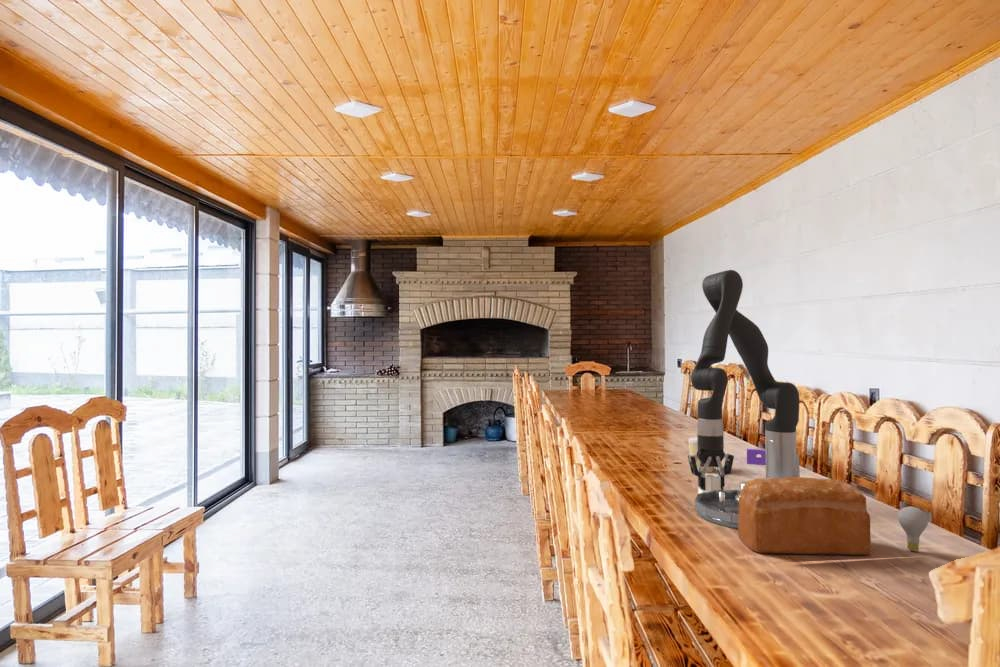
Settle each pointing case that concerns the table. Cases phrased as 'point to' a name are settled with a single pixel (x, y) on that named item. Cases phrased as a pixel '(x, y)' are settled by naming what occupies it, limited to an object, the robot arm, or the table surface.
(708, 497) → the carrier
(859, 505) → the bread
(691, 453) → the coffee cup
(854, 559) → the table surface
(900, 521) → the light bulb
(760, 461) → the bracket
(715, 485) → the white faceted ring
